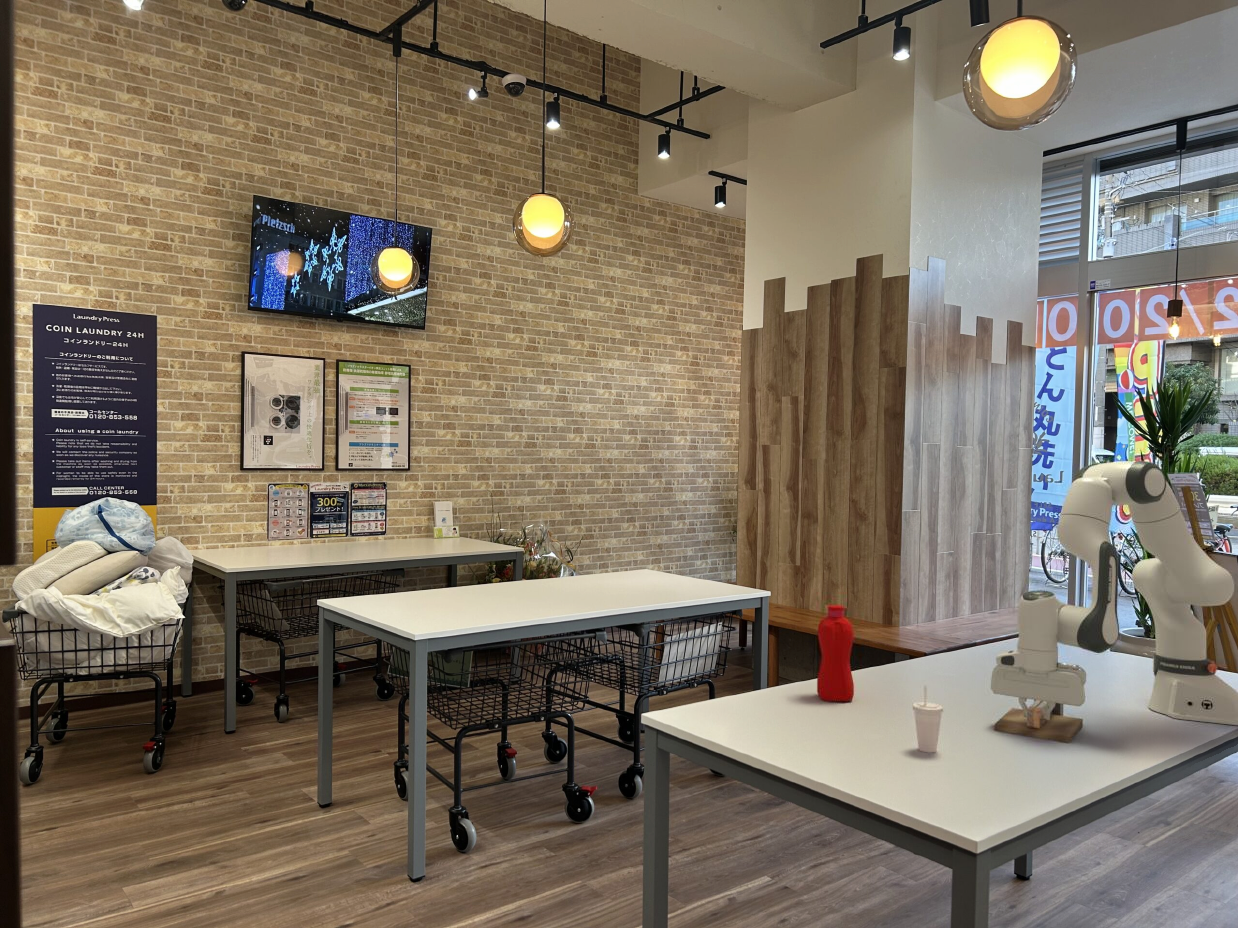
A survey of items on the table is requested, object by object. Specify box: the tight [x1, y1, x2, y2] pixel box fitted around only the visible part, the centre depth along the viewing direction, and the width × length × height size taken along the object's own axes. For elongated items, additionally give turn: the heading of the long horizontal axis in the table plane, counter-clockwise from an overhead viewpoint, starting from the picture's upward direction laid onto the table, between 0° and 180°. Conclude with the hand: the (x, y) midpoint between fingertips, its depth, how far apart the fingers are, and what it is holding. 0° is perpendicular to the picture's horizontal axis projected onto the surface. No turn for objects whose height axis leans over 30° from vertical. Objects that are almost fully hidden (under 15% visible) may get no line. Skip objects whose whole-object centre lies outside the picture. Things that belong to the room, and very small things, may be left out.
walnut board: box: [994, 707, 1084, 744], centre depth 212 cm, size 16×18×2 cm
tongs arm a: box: [1033, 701, 1053, 728], centre depth 212 cm, size 16×1×4 cm, turn 144°
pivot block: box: [1033, 700, 1064, 716], centre depth 221 cm, size 6×4×7 cm, turn 54°
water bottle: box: [816, 604, 855, 703], centre depth 238 cm, size 9×11×25 cm
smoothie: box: [912, 685, 944, 753], centre depth 194 cm, size 6×6×14 cm
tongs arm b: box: [1027, 700, 1042, 727], centre depth 212 cm, size 16×1×4 cm, turn 144°
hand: (1036, 718), depth 209 cm, fingers closed
